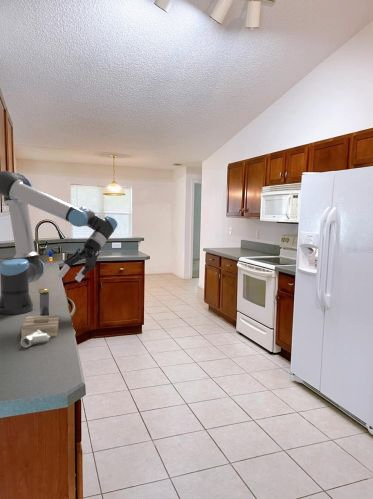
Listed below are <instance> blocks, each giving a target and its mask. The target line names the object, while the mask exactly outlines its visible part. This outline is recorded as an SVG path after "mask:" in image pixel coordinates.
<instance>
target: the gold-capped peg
mask: <svg viewBox="0 0 373 499" xmlns="http://www.w3.org/2000/svg"><path fill="white" fill-rule="evenodd" d="M50 292H51V288H49V287H48V288H47V287H46V288H39V289H38V293H39V316H50Z"/></svg>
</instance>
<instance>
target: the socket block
mask: <svg viewBox="0 0 373 499" xmlns="http://www.w3.org/2000/svg"><path fill="white" fill-rule="evenodd" d="M59 316H60V315H59V314H53V315H49V316H40V315H35V316H26V318H25V320H24V322H23V323H22V326H21V327H20V328H21V339H22V338H24V337H26V336H28V335H30V334H31V333H32V332H34V331H36V330H40V331H41V332H42V333H46V334H47V335H49V336H50V337H58V333H59V326H60V324H59V321H60V319H59Z"/></svg>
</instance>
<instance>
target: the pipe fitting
mask: <svg viewBox="0 0 373 499" xmlns="http://www.w3.org/2000/svg"><path fill="white" fill-rule="evenodd" d="M50 339H51V336H49V335H47V334H46V333H42V332H41V331H40V330H36V331H34V332H32V333H31V334H30V335H28V336H26V337H24V338H22V337H21V339H20V345H21V346H22V347H23V348H30V347H31V346H32V345H39V344H46V343H48V341H49V340H50Z"/></svg>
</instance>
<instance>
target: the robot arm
mask: <svg viewBox="0 0 373 499" xmlns="http://www.w3.org/2000/svg"><path fill="white" fill-rule="evenodd" d="M0 196H3V201H4V203H5V204H7V206H8V211H9V216H10V223H11V227H12V228H11V229H12V235H13V242H14V246H15V247H14V248H15V252H16V253H15V255H14V256H13V258H12V259H7V260H3V261H2V262H1V263H0V313H2V314H1V315H18V314H24V313H25V314H26V313H28V312H30V311H33V310H34V303H33V301H32V297H31V295H30V283H34V282H37V281H38V280H39V279H40V278H42V277H43V275H44V273H45V268H46V267H45V264H44V262H43V261H42V260H41V258H40V254H39V253H38V252H37V251H36V249H35V242H34V236H33V230H32V229H33V228H32V224H31V222H32V221H31V217H30V209H29V206H32V207H34V208H36V209H39V210H41V211H44V212H45V213H48V214H50V215H53V216H55V217H58V218H60V219H62V220H63V221H66V222H68V223H70V224H71V225H72V226H74V227H76V228H77V227H79V228H81V227H87V228H90V229H92V231H93V232H92V233H91V235H90V236H89V237H88V239H87V240H86V241H85V242H84V244H83V248H82V249H81V248H78V249H77V250H76V251H74V252H73V254H71V255H70V256H68V257H67V258H66V259H65V260H64V261H63V263H64V265H63V267H61V269H60V270H59V272H58V273H57V274H56V276H58V277H59V278H60V279H63V278H64V276H65V275H66V274H67V272H69V270H70V269H71V266H73V265H74V264H76V263H77V262H79V261H83V260H85V265H84V266H82V268H81V269H80V270H79V272H78V273H77V274H76V275H75V277H74V279H75V280H76V281H77V282H78V283H80V282H81V281H82V279H83V278H85V276H86V275H87V273H88V272H89V271H91V270H94V269H95V267H96V263H97V260H98V257H99V256H100V253H99V251H101V248H103V247H104V245H105V244H106V243H107V241H108V240H109V239H110V237H111V236H112V235H113V233H114V232H115V230H116V229H117V227H118V222H117V220H116V219H115V218H114V217H113V216H110V215H106V216H105V217H103V216H100V215H99V214H97V213H96V212H94V211H92V210H91V209H90V208H88V207H85V206H81V207H76V206H74V205H71V204H70V203H67V202H65V201H64V200H61V199H58V198H56V197H54V196H52V195H50V194H48V193H45V192H43V191H41V190H38V189H37V188H34V187H33V184H32V181H31V180H30V179H29V178H28V177H26V176H24V174H21V173H16V172H12V171H9V170H1V171H0ZM28 205H29V206H28Z"/></svg>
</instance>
